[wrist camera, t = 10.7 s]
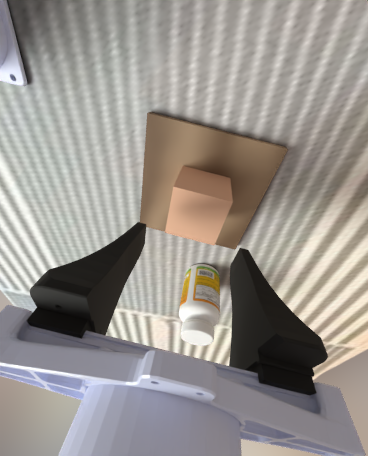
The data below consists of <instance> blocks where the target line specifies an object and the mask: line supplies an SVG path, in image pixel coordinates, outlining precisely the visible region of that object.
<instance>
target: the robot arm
mask: <svg viewBox="0 0 368 456" xmlns="http://www.w3.org/2000/svg"><path fill="white" fill-rule="evenodd" d="M14 76H15V78H16V80H15V79H14ZM0 81H3V82H7V83H11V84H15V85H19V86H26V85H27V79H26V75H25V71H24V67H23V63H22V59H21V55H20V51H19V47H18V44H17V40H16V36H15V32H14V28H13V24H12V20H11V16H10V12H9V8H8V4H7V0H0ZM145 234H146V224H144V223H140V222H138V223H136V224H135V225H134V226H133V227H132V228H131V229H129V230H128V231H127V232H126V233H124V234H123V235H122V236H120V237H119V238H118V239H116V240H115V241H113V242H112V243H110V244H109V245H107V246H105V247H104V248H102V249H100V250H98V251H97V252H95V253H93V254H91V255H89V256H86V257H84V258H82V259H79V260H77V261H74V262H72V263H69V264H66V265H63V266H60V267H56V268H53V269H50V270H48V271H47V272H46V273H45V274H44V275H43V276H42V277H41V278H40V279H39V280H38V281H37V282H36V283H35V285H34V286H33V287H32V288H31V289H30V295H31V297H32V299H33V301H34V302H35V304H36V306H37V308H36V310H35V311H34V312H33V313H32V312H31V311H29V310H27V309H23V308H19V307H15V306H11V305H7V306H6V307H5V308H4V309H3V310H2V311H1V312H0V376H2V377H6V378H10V379H13V380H17V381H20V382H24V383H27V384H31V385H34V386H37V387H40V388H44V389H47V390H50V391H53V392H57V393H60V394H63V395H66V396H70V397H73V398H76V399H80V400H82V402H81V404H80V406H79V409H78V411H77V413H76V416H75V418H74V420H73V422H72V425H71V427H70V429H69V432H68V434H67V437H66V439H65V441H64V443H63V446H62V448H61V450H60V453H59V455H58V456H241V440H240V439H245V440H250V441H255V442H261V443H265V444H271V445H276V446H281V447H286V448H291V449H296V450H300V451H306V452H310V453H314V454H318V455H323V456H365V455H366V454H365V452H364V449H363V447H362V444H361V441H360V439H359V436H358V434H357V431H356V429H355V426H354V424H353V421H352V418H351V416H350V414H349V411H348V408H347V406H346V403H345V401H344V398H343V396H342V393H341V391H340V388H338V387H335V386H331V385H327V384H323V383H313V380H312V376H314V372H313V369H312V368H313V367H315V366H317V365H319V364H321V363H323V362H324V361H326V359H327V358H328V355H327V352H326V349H325V347H324V344H323V342H322V340H321V338H320V337H319V336H318V335H317V334H316V333H315V332H313V331H312V330H311V329H310V328H309V327H308V326H306V325H305V324H304V323H303V322H302V321H301V320H300V319H299V318H298V317H297V316H296V315H295V314H294V313H293V312H292V311H291V310H290V309H289V308H288V307H287V306H286V305H285V304H284V302H283V301H282V300H281V299H280V298H279V297H278V295H277V294H276V293H275V292H274V290H273V289H272V288H271V286H270V285H269V283H268V282H267V281H266V279H265V278H264V276H263V275H262V273H261V271H260V270H259V268H258V266H257V265H256V263H255V261H254V259H253V258H252V256H251V254H250V252H249V251H248V250H246V249H242V248H240V249H239V251H238V253H237V255H236V257H235V258H234V260H233V262H232V264H231V266H230V286H231V298H232V338H231V353H230V364H229V366H226V365H222V364H218V363H214V362H210V361H206V360H202V359H198V358H194V357H190V356H186V355H182V354H178V353H174V352H170V351H166V350H162V349H158V348H154V347H150V346H146V345H142V344H138V343H134V342H130V341H126V340H122V339H118V338H114V337H110V336H106V332H107V329H108V326H109V324H110V321H111V318H112V316H113V313H114V310H115V308H116V305H117V303H118V300H119V298H120V295H121V293H122V290H123V288H124V285H125V283H126V281H127V279H128V277H129V275H130V273H131V272H132V270H133V268H134V266H135V264H136V262H137V260H138V258H139V257H140V254H141V252H142V249H143V247H144V244H145Z"/></svg>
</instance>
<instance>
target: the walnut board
mask: <svg viewBox="0 0 368 456" xmlns="http://www.w3.org/2000/svg"><path fill="white" fill-rule="evenodd" d="M287 151H288V149H287V148H286V147H284V146H280V145H276V144H272V143H268V142H264V141H260V140H257V139H253V138H249V137H245V136H241V135H237V134H233V133H230V132H226V131H222V130H218V129H214V128H210V127H206V126H203V125H199V124H195V123H191V122H187V121H183V120H179V119H175V118H172V117H168V116H164V115H160V114H156V113H152V112H149V113H147V127H146V141H145V156H144V170H143V185H142V199H141V214H140V223H144V224H146V227H149V228H153V229H157V230H161V231H165V229H166V224H167V218H168V213H169V208H170V202H171V197H172V191H173V186H174V184H175V182H176V180H177V177H178V175H179V173H180V171H181V169H182V166H186V167H190V168H194V169H198V170H201V171H205V172H209V173H213V174H217V175H221V176H225V177H228V178H230V180H231V189H232V198H233V203H232V205H231V208H230V210H229V212H228V215H227V217H226V219H225V222H224V224H223V226H222V229H221V231H220V234H219V236H218V238H217V241H216V243H215V244H216V245H220V246H224V247H227V248H231V249H236V247H237V245H238V243H239V241H240V239H241V238H242V236H243V234H244V232H245V230H246V228H247V226H248V224H249V222H250V221H251V219H252V217H253V215H254V213H255V211H256V209H257V207H258V205H259V204H260V202H261V200H262V198H263V196H264V194H265V192H266V190H267V188H268V186H269V185H270V183H271V181H272V179H273V177H274V175H275V173H276V171H277V169H278V168H279V166H280V164H281V162H282V160H283V158H284V156H285V154H286V152H287Z"/></svg>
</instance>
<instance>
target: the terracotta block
mask: <svg viewBox="0 0 368 456" xmlns="http://www.w3.org/2000/svg"><path fill="white" fill-rule="evenodd" d="M232 203H233V198H232V189H231V180H230V178H228V177H225V176H221V175H217V174H213V173H209V172H205V171H201V170H198V169H194V168H190V167H186V166H182V169H181V171H180V173H179V175H178V177H177V180H176V182H175V184H174V186H173V191H172V197H171V202H170V208H169V213H168V218H167V224H166V229H165V233H168V234H172V235H176V236H180V237H184V238H188V239H192V240H196V241H200V242H203V243H207V244H211V245H215V243H216V241H217V238H218V236H219V234H220V231H221V229H222V226H223V224H224V222H225V219H226V217H227V215H228V212H229V210H230V208H231V205H232Z"/></svg>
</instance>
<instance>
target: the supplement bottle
mask: <svg viewBox="0 0 368 456" xmlns="http://www.w3.org/2000/svg"><path fill="white" fill-rule="evenodd" d="M179 316H180V319H181V320H182V321H183V324H182V328H181V338H182V339H183V340H184V341H186V342H187V343H190V344H193V345H201V346H203V345H209V344H211V343H212V342H213V340H214V326H215V325H216V324H217V323H218V322H219V319H220V277H219V273H218V271H217V270H216V269H215V268H213V267H212V266H209V265H206V264H196V265H193V266H191V267H189V268H188V270H187V271H186V275H185V280H184V286H183V292H182V297H181V303H180V309H179Z"/></svg>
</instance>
